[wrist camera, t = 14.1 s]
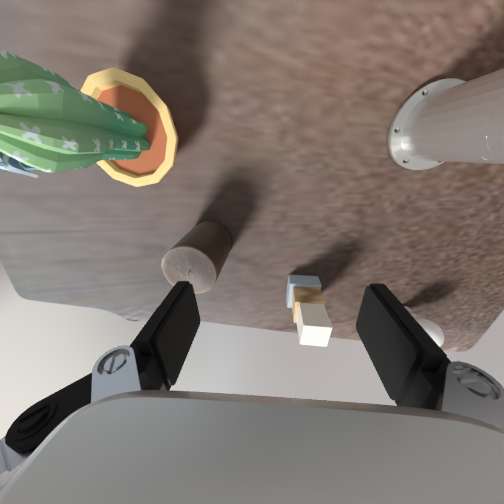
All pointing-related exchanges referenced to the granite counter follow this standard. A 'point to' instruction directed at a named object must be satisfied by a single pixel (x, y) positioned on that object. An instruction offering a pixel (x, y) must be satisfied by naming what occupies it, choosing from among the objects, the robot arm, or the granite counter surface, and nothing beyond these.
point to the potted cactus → (83, 123)
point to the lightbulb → (429, 328)
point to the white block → (313, 324)
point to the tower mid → (305, 298)
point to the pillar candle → (198, 256)
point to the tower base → (300, 285)
